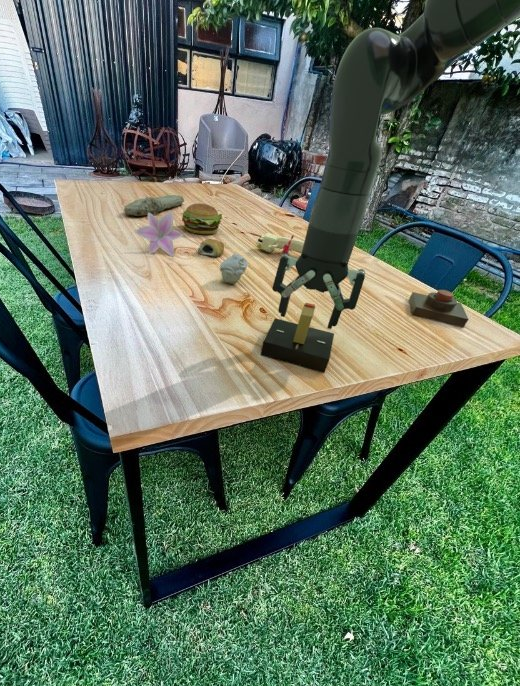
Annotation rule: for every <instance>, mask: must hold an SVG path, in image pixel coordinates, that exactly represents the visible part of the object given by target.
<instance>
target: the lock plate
mask: <svg viewBox="0 0 520 686" xmlns="http://www.w3.org/2000/svg"><path fill="white" fill-rule="evenodd" d="M297 326H298V323H296V322H291V321H287V320H285V319H280V318H276V317H275V318H274V319H273V321H272V323H271V325H270V327H269V329H268V331H267V333H266V335H265V337H264V339H263V342H262V345H261V350H260V356H263V357H266V358H270V359H274V360H277V361H281V362H284V363H287V364H292V365H294V366H298V367H301V368H305V369H309V370H313V371H316V372H320V373H325V372H326V370H327V368H328V365H329V362H330V359H331V355H332V354H331V353H332V348H333V342H334V337H335V333H334V332H330V331H326V330H323V329H318V328H315V327H311V326H309V329H308V333H307V336H306V339H305V342H304V344H300V343H296V342H293V340H294V337H295V333H296V330H297Z"/></svg>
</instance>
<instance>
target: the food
mask: <svg viewBox="0 0 520 686" xmlns="http://www.w3.org/2000/svg"><path fill="white" fill-rule="evenodd" d="M180 215H182V218H181V221H182V222H183V224H184V225H183V228H184V229H185V230H186V231H187V232H189V233H192V234H196V235H206V236H207V235H214V234H216V233H218V231H219V226H220V224H221V222H222V220H223V219H222V218H223V216H222V215H223V213H219V211H218V210H217V209H216V207H214V206H212V205H210V204H206V203H198V202H197V203H193V204H190V205H188V206H187V207H186V209H185V210H183V212H180Z"/></svg>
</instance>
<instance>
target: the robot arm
mask: <svg viewBox="0 0 520 686" xmlns="http://www.w3.org/2000/svg"><path fill="white" fill-rule="evenodd" d="M519 18H520V0H425V2H424V7H423V13H422V14H421V15H420V16H419V17H418V18H417V19H416V20H415V21H414V22H413V23H412V24H411V25H410V26H409V27H408V28H406V29H405V30H404V31H402V32H401V33H400V34H396V33H394V32H392V31H390V30H387V29H384V28H381V27H371V28H367V29H365V30H363V31H362V32H360V33H359V34H357V35H356V36H355V38H353V40H351V42H350V43H349V45H348V46H347V47H346V49H345V51H344V53H343V55H342V57H341V59H340V61H339V64H338V67H337V69H336V72H335V76H334V80H333V85H332V92H331V93H332V94H331V100H330V117H329V133H328V134H329V136H328V140H329V141H328V153H327V156H326V160H325V164H324V169H323V172H322V177H321V180H320V186H319V187H318V191H317V194H316V196H315V199H314V202H313V206H312V209H311V213H310V216H309V221H308V224H307V225H308V226H307V230H306V233H305V237H304V245H303V249H302V253H300V255H299V257H298V258H297V257H294V256H291V255H290V254H289V252H288V253H282V256H281V258H280V259H279V262H278V266H277V268H276V273H275V276H274V281H273V284H272V287H271V288H272V291H273V292H276V293H278V294H279V295H280V300H279V305H278V309H277V310H278V311H277V312H278V314H280V317H281V318H285V317H286V315H287V312H288V307H289V305H290V299H291V296H292V294H293V293H294V292H296V291H298V290H299V289H300V288H301V287H302V286H303V287H304V288H305V289H306V290H309V291H310V290H315V291H317V292H319V293H322V294H324V293H325V292H328V293H329V296H330V298H331V300H332V301H333V304H334V305H333V309H332V311H331V314H330V317H329V320H328V323H327V328H326V329H329V330H332V328H333V327H334V328H335V327H336V326H337V325H338V323H339V320H340V317H341V315H342V312H343V311H345V310H349V311H350V310H351V311H353V310H355V309H356V307H357V304H358V301H359V297H360V294H361V291H362V288H363V285H364V282H365V278H366V271H365V270H364V269H362V268H360V269H358V270H355V269H349V262H350V259H351V257H352V254H353V251H354V247H355V244H356V241H357V238H358V235H359V232H360V229H361V227H362V225H363V220H364V218H365V214H366V210H367V206H368V201H369V197H370V194H371V192H372V188H373V185H374V182H375V180H376V176H377V173H378V170H379V167H380V164H381V160H382V155H383V148H382V146H381V144H380V143H379V142H378V140H377V137H376V136H377V130H378V125H379V120H380V116H383V115H384V116H385V115H387V114H391V113H393V112H395V111H397V110H398V109H399V110H400V108H402V107H404V106H405V105H407V104H408V103H410V102H411V101H412V100H414V99H415V98H416V97H418V96H419V95H420V94H421V93H422V92H424V91H425V90H426V89H427V88H428V87H429V86H431V84H432V83H434V81H435V80H437V79H438V78H439V77H441V76H442V74H443V73H445V72H446V71H447V70H448V69H449V68H450V66H451V65H452V64H454V63H455V62H456V61H457V60H458V59H459V58H461V57H462V56H464V55H466V54H467V53H470V52H471V51H472V50H473V49H475V48H477V47H479V45H481V44H483V43H484V42H486V41H487V40H488V39H489V38H491V37H493V36H494V35H496V34H497V33H498V32H500V31H501V30H503V29H504V28H506V27H507V26H508V25H510V24H512V23H513V22H514V21H516V20H517V19H519ZM292 267H295V270H296V272H297V274H298V275H297V276H296V277H294V279H293V280H292V281H290V282H289V283H288V284H287V285H286V284H284V278H285V276H286V271H289V270H291V269H292ZM346 278H348V280H349V284H350V285H351V286H352V289H351V292H350V296H349V298H344V295H343V294H342V290H341V286H340V283H342V282H343V281H344V280H346Z"/></svg>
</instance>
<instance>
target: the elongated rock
mask: <svg viewBox="0 0 520 686" xmlns="http://www.w3.org/2000/svg"><path fill="white" fill-rule="evenodd" d="M183 203H185V198H184V196H183V195H177V194H172V195H171V194H167V195H164V196H163V195H162V196H157V197H153V196H145V198H139V199H137V200H134V201H133V202H130V203H128V204H126V205H124V207H123V212H124V214H126V215H129V216H130V215H131V216H135V217H139V216H148V213H151V214H152V215H154V216H155V215H156V214H158V212H163V211H164V210H165V209H171V208H175V207H179V206H180V205H183Z"/></svg>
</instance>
